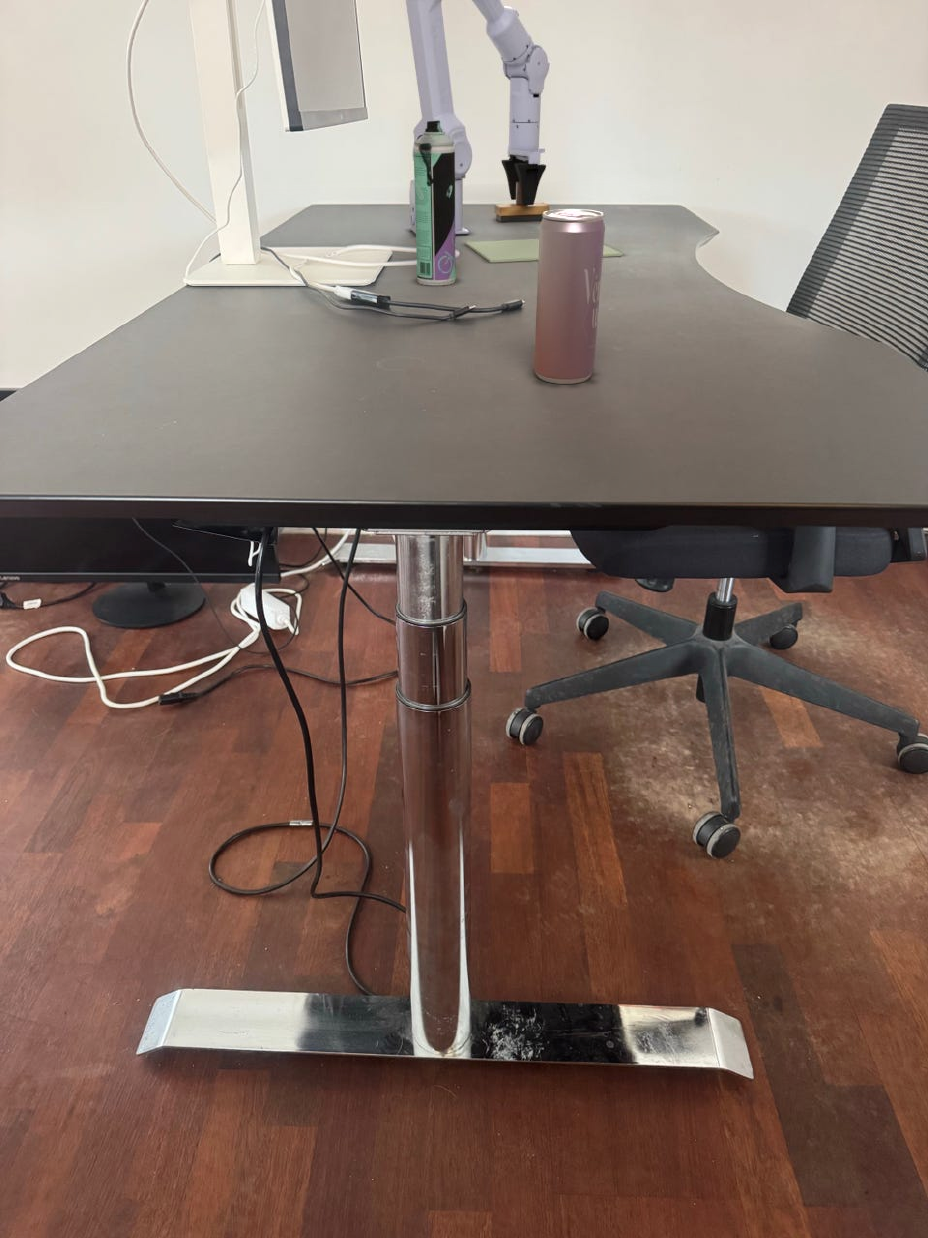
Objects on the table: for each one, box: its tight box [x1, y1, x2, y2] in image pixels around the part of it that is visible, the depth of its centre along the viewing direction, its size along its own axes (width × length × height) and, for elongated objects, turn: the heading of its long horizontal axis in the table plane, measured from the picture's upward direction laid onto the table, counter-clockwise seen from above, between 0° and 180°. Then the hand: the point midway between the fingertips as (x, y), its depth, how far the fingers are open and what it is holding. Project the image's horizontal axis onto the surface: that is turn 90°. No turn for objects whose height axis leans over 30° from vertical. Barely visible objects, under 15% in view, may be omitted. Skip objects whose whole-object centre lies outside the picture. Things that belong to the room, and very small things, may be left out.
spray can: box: [413, 121, 457, 286], centre depth 119 cm, size 6×6×20 cm
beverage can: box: [533, 208, 606, 385], centre depth 84 cm, size 6×6×15 cm
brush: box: [493, 181, 551, 223], centre depth 169 cm, size 10×4×7 cm, turn 104°
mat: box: [465, 238, 623, 264], centre depth 144 cm, size 22×16×1 cm
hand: (522, 202), depth 169 cm, fingers open, 7 cm apart
